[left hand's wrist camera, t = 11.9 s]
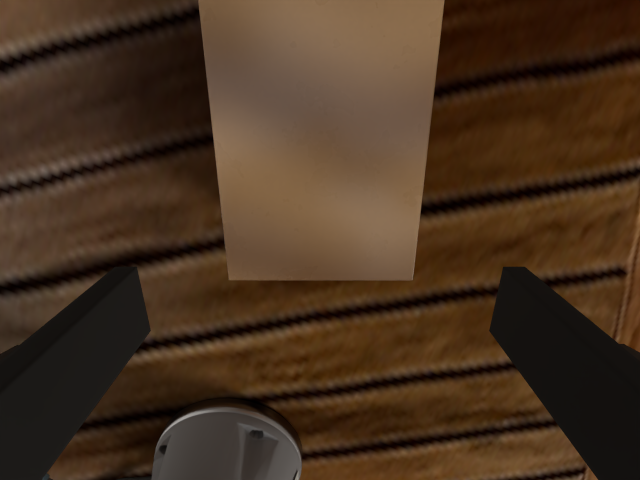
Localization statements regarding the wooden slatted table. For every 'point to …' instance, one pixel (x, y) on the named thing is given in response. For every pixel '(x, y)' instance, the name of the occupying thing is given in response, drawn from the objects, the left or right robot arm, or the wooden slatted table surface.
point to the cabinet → (321, 133)
